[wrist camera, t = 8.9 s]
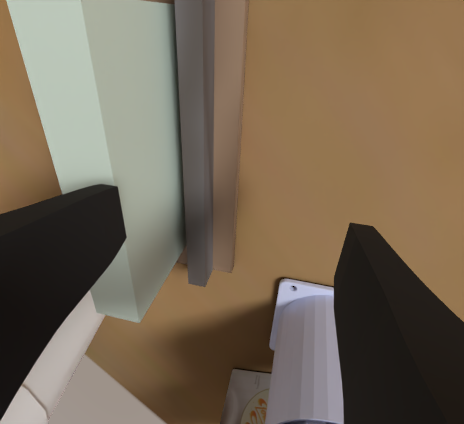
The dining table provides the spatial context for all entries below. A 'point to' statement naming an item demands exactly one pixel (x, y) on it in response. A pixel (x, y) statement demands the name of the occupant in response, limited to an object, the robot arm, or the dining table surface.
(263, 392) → the coffee box
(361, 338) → the robot arm
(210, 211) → the bottom track
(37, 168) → the dining table surface
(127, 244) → the door panel
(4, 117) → the dining table surface
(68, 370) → the foam cup
